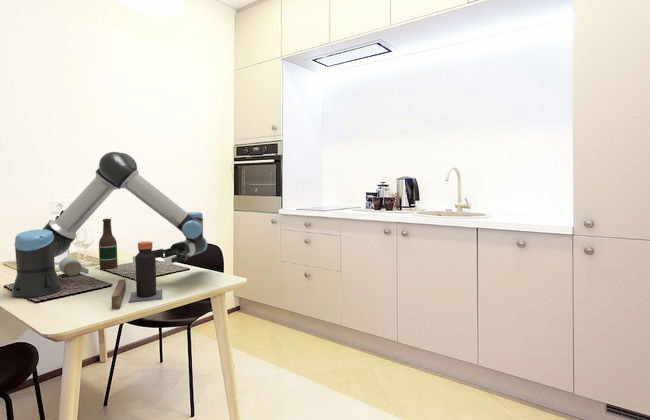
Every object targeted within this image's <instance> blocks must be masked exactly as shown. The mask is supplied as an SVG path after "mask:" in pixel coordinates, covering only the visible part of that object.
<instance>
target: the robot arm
mask: <svg viewBox="0 0 650 420" xmlns="http://www.w3.org/2000/svg"><path fill="white" fill-rule="evenodd" d="M121 189H125V190H127V192H129V193H131V194H132V195H133V196H135V197H136V198H137V199H139V201H141V202H143V203H144V204H145V205H146V206H148V207H149V208H150V209H152V210H153V211H154V212H156V213H157V214H158V215H159V216H161V217H162V218H163V219H165V220H166V221H167V222H169V223H170V224H171V225H173V226H174V227H175V228H176V229H177V230H179V231H181V233H182V235H184V237H185V240H182V241H180V242H176V243H173V244H172V245H171V246H170V247H169V248H159V249H154V250H153V249H152V252H153V253H154V254H155V258H156V259H158V258H161V259H163V260H164V266H166V267H167V266H169V265H172V264H175V263H177V262H178V263H179V262H184V263H185V262H187V260H188V258H190V257H193V256H195V255H199V254H201V253H203V252H205V251H206V250H207V249H208V242H207V239H206V238H205V237H204V229H203V228H204V217H203V213H202V212H200V211H190V212H187V211H185V210H184V209H183V208H182V207H180V206H179V205H178V204H177V203H175V202H174V201H173V200H172V199H171V198H169V197H168V196H167V195H165V194H164V193H163V192H162V191H160V190H159V189H158V188H157V187H155V186H154V185H153V184H151V182H149V181H147V180H146V178H144V177H143V176H141V175H140V173H139V170H138V165H137V161H135V159H134V158H133V157H132V156H130V155H129V154H128V153H124V152H119V151H111V152H110V151H109V152H106V153H105V154H104V155H102V156H101V158H100V159H99V162H98V168H97V169H96V170H95V178H94V179H92V181H91V182H90V183H88V185H87V186H86V187H85V188H84V190H82V191H81V193H79V194H78V195H77V197H76V198H75V199H74V200H73V201H72V203H70V204H69V206H68V207H66V209H65V210H63V212H62V213H61V214H60V215H59V216H58V218H57V219H54V220H50V221H48V222H47V224H45V225H44V227H43V228H42V229H32V230H31V229H29V230H26V231H25V230H24V231H22V232H19V233H17V234H16V236H15V238H14V249H15V250H14V251H15V264H16V265H15V266H16V277H15V280H14V282H13V285H12V288H11V295H12V297H14V298H22V299H23V298H24V299H25V298H37V297H36V296H38V297H43V295H44V296H47V294H48V295H51V293H52V294H55V293H57V292H59V291H60V290H62V283H61V281H60V278H59V276H58V273H57V271H56V267H55V266H56V265H55V258H56V257H59V256H61V255H63V254H64V253H66V252H67V251H68V250H69V249H70V246H71V245H72V243H73V242H74V241H75V239H76V238H77V231H78V230H79V229H80V228H81V227H82V226H83V225H84V224H85V223H86V222H87V220H89V219H90V217H92V215H93V214H94V212H96V210H97V209H98V208H99V207H100V206H101V205H102V204H103V203H104V201H106V200H107V198H108V197H109V196H110V195H111V194H112V193H113V192H114V190H121ZM135 257H136V255H133V256H132V263H133V264H136V261H135ZM54 292H55V293H54Z"/></svg>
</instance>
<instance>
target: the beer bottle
mask: <svg viewBox="0 0 650 420" xmlns="http://www.w3.org/2000/svg"><path fill="white" fill-rule="evenodd" d="M102 222H103V225H102V226H103V227H102V235H101V237H100V238H99V241H98V259H99V268H100V269H101V270H111V269H116V268H118V243H117V239H116V238H115V236H114V235H113V232H112V231H113V230H112V219H111V218H103V219H102Z"/></svg>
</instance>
